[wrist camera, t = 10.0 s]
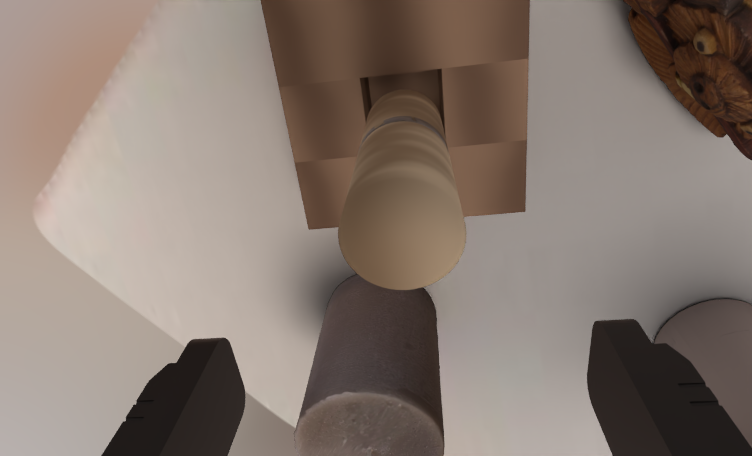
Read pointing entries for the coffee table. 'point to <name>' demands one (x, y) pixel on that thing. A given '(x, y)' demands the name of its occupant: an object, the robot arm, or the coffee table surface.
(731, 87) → the wooden carving
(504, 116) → the socket block
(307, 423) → the pillar candle
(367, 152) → the peg
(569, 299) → the coffee table surface
